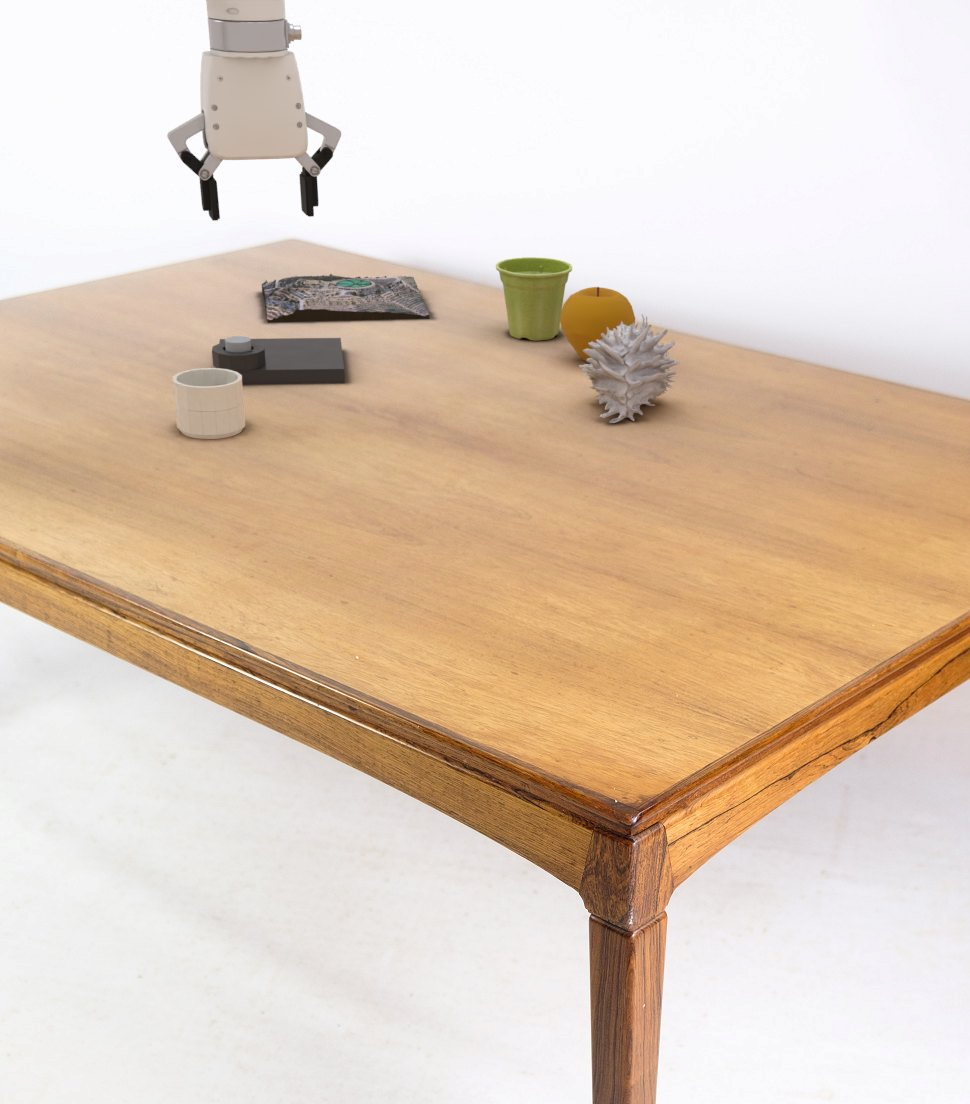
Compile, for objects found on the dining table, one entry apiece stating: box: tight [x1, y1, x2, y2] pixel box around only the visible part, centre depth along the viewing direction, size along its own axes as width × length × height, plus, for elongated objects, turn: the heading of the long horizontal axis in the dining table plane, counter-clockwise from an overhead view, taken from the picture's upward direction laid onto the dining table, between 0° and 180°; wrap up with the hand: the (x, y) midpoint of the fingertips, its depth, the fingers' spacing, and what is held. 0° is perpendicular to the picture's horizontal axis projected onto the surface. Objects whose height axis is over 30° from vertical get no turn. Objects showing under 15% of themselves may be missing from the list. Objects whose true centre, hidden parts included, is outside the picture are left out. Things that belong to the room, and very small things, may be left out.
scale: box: [211, 337, 346, 386], centre depth 186 cm, size 14×13×4 cm
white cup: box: [171, 367, 246, 440], centre depth 166 cm, size 7×7×6 cm
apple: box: [560, 286, 636, 364], centre depth 193 cm, size 9×9×9 cm
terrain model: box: [261, 273, 430, 324], centre depth 212 cm, size 20×15×3 cm
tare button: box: [224, 335, 252, 352], centre depth 181 cm, size 3×3×1 cm
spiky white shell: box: [578, 314, 681, 424], centre depth 177 cm, size 12×11×12 cm
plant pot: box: [495, 256, 573, 342], centre depth 202 cm, size 9×9×9 cm
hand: (261, 215), depth 169 cm, fingers open, 9 cm apart
